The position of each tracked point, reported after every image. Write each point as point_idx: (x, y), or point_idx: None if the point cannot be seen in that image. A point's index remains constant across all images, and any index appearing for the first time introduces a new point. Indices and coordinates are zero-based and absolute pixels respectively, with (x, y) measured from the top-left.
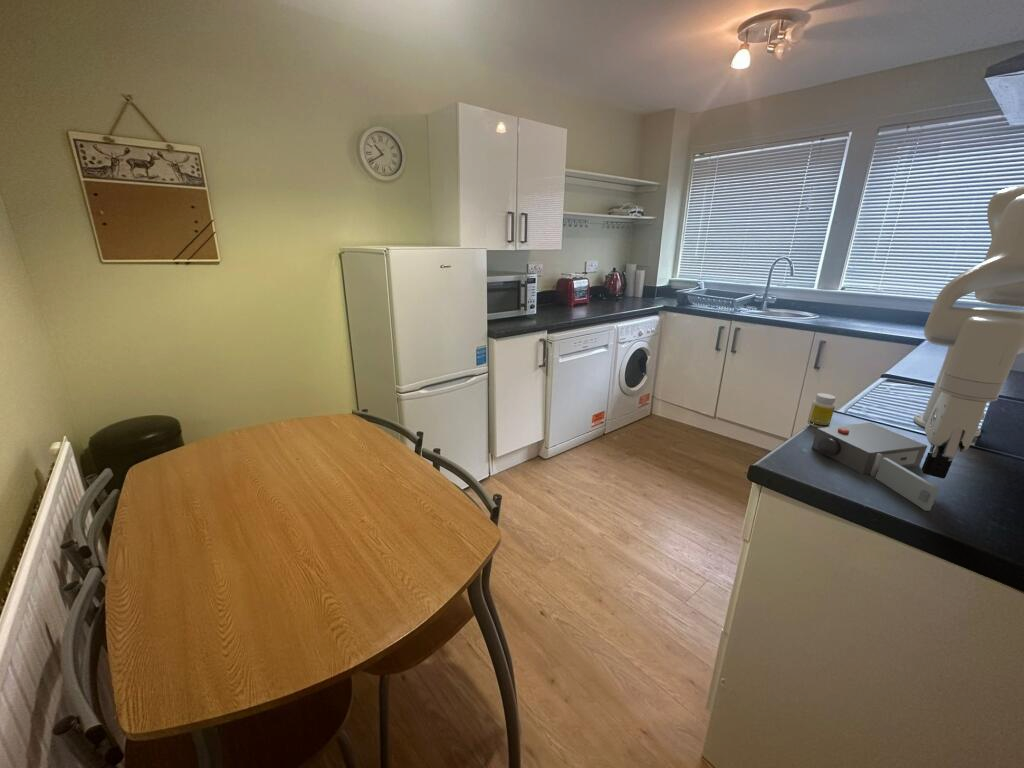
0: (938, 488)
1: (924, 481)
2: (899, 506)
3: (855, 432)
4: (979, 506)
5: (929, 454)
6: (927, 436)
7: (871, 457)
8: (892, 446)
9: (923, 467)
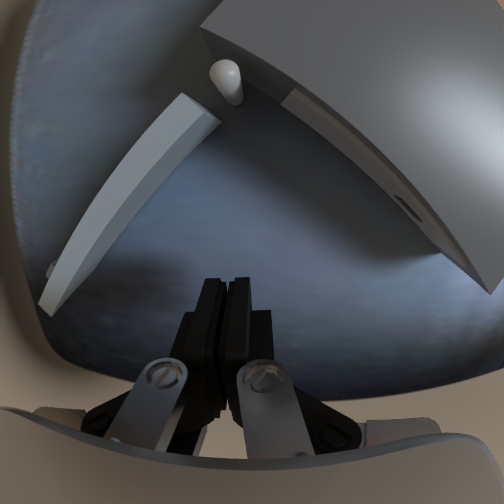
0: (48, 313)
1: (52, 281)
2: (57, 202)
3: (478, 23)
4: None
5: (229, 351)
6: (104, 464)
7: (231, 51)
8: (433, 156)
9: (233, 287)
